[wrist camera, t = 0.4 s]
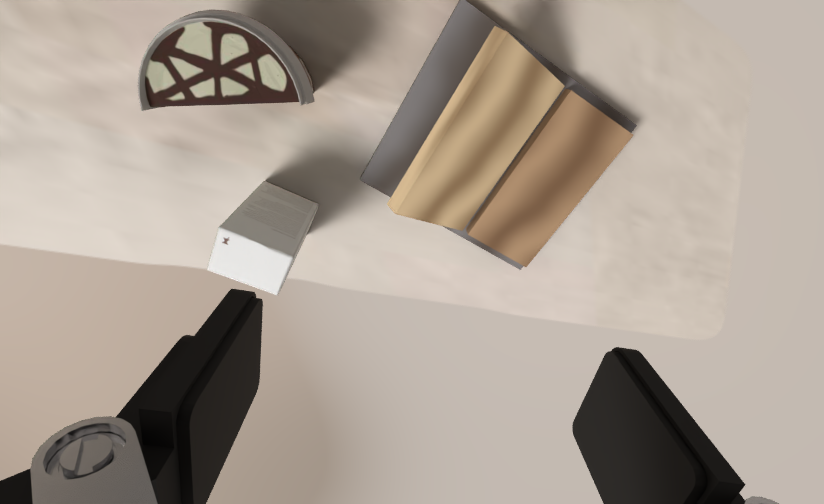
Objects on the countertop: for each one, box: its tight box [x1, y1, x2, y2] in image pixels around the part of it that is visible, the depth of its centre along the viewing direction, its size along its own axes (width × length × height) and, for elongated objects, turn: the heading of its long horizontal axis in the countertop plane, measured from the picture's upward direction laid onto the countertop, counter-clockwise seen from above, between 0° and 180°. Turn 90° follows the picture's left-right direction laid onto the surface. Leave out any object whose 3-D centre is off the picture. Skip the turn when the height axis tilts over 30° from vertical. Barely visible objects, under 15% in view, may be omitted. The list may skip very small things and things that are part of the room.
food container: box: [138, 10, 314, 111], centre depth 32 cm, size 12×6×10 cm, turn 92°
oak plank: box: [387, 26, 565, 231], centre depth 36 cm, size 10×16×2 cm
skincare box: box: [207, 181, 319, 295], centre depth 38 cm, size 6×4×12 cm
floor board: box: [360, 0, 637, 270], centre depth 40 cm, size 20×18×2 cm
